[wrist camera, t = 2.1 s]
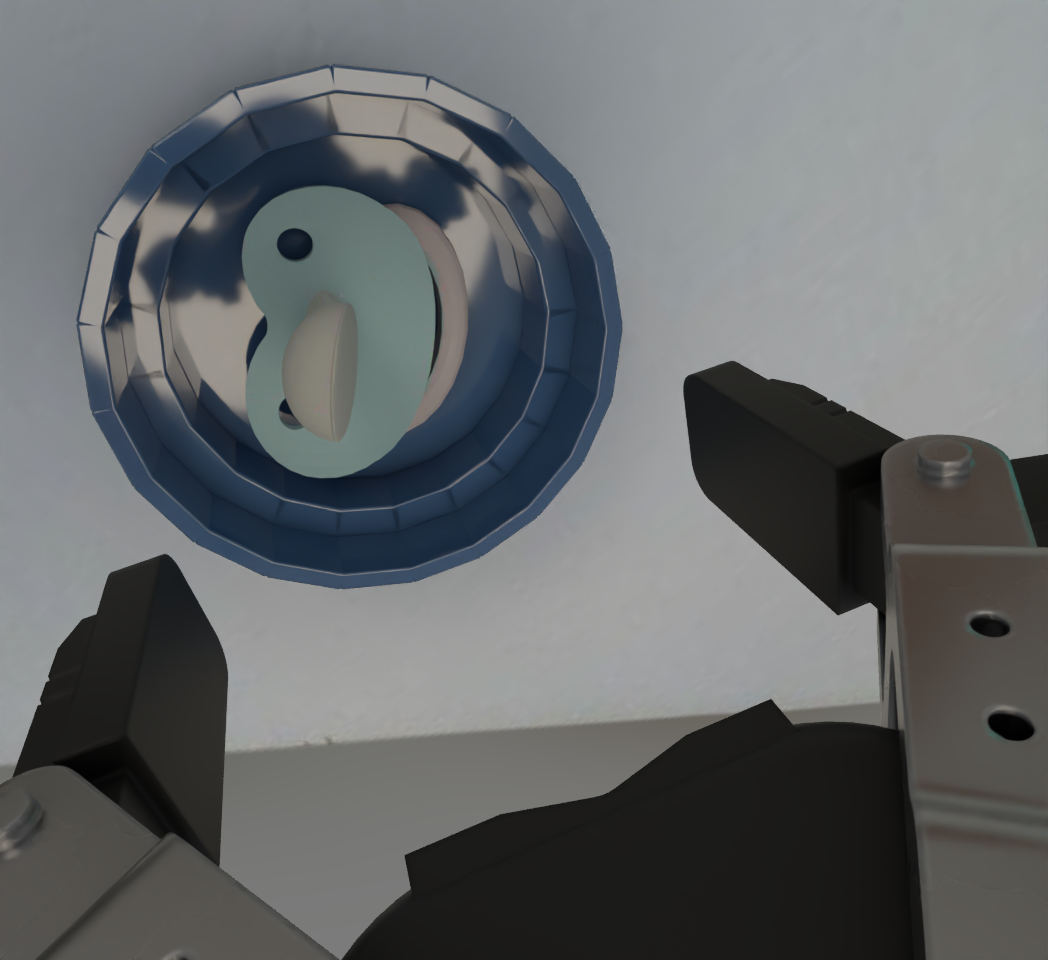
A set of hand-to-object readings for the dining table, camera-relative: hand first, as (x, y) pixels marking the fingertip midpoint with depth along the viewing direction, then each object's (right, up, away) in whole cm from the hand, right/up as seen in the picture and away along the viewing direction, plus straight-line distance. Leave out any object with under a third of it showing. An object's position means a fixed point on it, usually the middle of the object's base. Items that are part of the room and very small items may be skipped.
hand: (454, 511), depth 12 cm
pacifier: (-4, +5, +10) cm, 12 cm away
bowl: (-4, +5, +10) cm, 12 cm away
